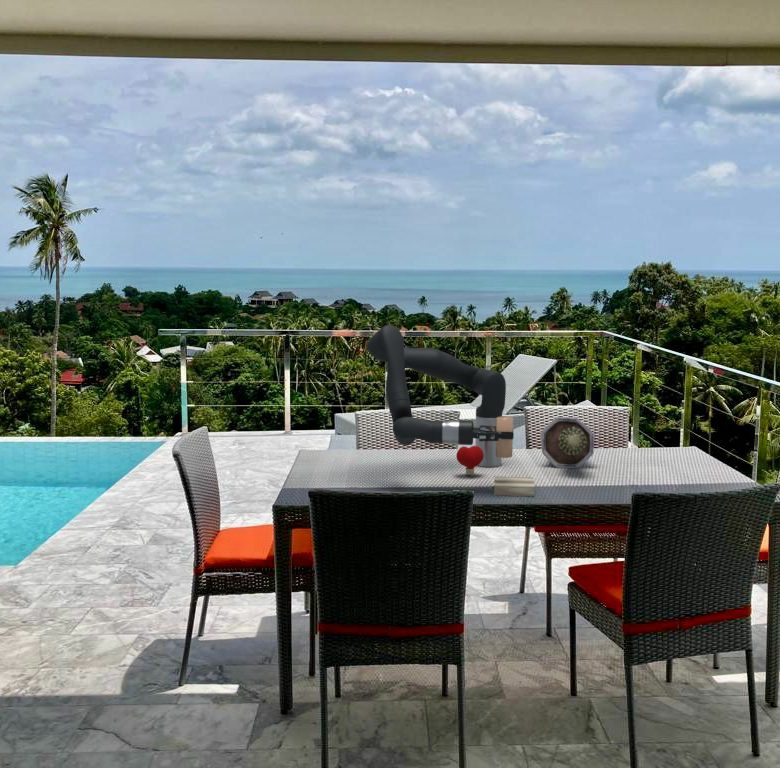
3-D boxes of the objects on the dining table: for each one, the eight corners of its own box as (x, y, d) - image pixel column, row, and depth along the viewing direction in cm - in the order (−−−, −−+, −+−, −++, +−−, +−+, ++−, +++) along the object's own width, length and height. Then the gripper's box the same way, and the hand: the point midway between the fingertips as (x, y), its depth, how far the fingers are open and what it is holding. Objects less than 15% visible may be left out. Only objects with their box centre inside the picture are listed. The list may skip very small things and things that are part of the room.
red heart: (460, 479, 276) (460, 449, 274) (452, 474, 282) (453, 445, 281) (487, 477, 278) (487, 447, 277) (478, 472, 285) (479, 443, 284)
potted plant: (539, 418, 306) (546, 411, 276) (590, 421, 304) (602, 415, 275) (537, 467, 304) (544, 465, 275) (587, 470, 302) (600, 469, 273)
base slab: (494, 485, 267) (494, 476, 267) (532, 486, 266) (532, 477, 266) (494, 495, 256) (494, 485, 255) (534, 496, 254) (534, 487, 254)
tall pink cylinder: (495, 454, 263) (496, 416, 261) (512, 454, 262) (513, 416, 261) (495, 457, 258) (496, 418, 256) (512, 458, 257) (513, 419, 256)
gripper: (456, 424, 253) (514, 426, 251) (459, 416, 268) (513, 417, 265) (456, 449, 254) (513, 450, 252) (458, 439, 268) (512, 441, 266)
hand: (513, 433), depth 259 cm, fingers closed on tall pink cylinder, 5 cm apart
